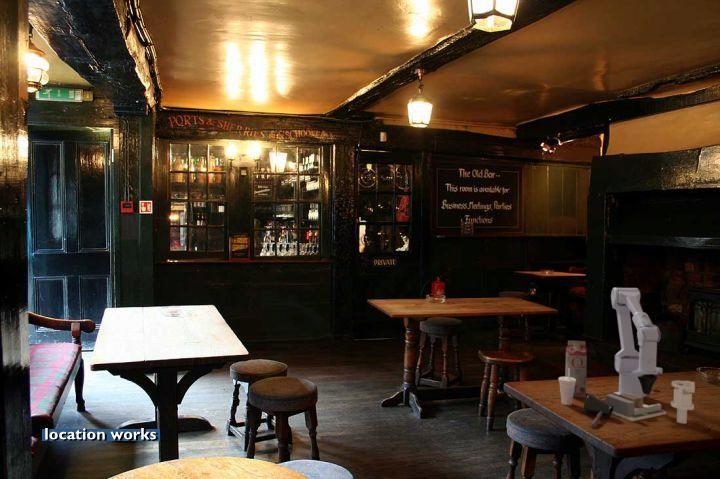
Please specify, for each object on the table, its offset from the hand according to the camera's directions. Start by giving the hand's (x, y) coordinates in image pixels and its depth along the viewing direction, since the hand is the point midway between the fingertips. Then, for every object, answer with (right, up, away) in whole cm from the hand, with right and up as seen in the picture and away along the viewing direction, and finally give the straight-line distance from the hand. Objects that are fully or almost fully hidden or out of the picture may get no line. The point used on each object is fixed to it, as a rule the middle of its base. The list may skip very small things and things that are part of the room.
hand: (646, 393), depth 206 cm
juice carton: (-20, -5, +17) cm, 27 cm away
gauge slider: (-7, -5, -5) cm, 10 cm away
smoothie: (-28, -6, +6) cm, 29 cm away
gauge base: (-6, -6, -3) cm, 9 cm away
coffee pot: (-25, -7, -11) cm, 28 cm away
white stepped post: (+6, -7, -13) cm, 15 cm away
